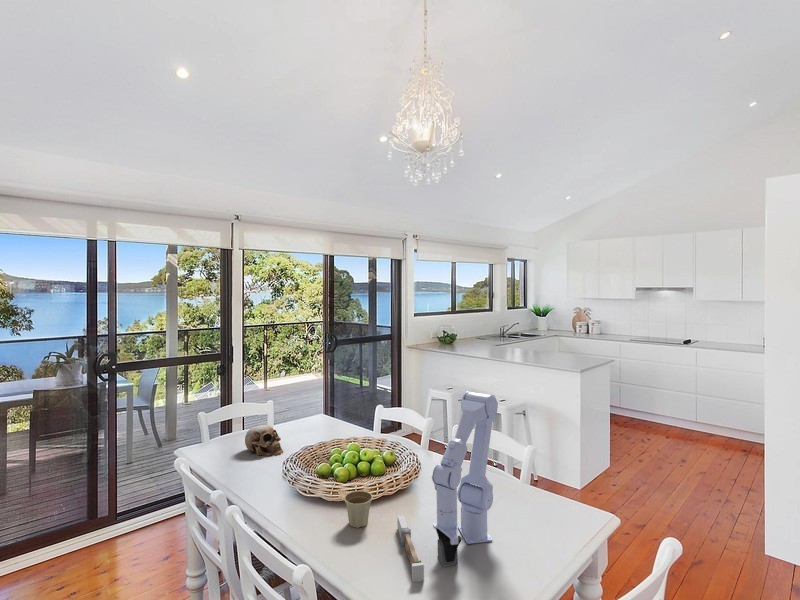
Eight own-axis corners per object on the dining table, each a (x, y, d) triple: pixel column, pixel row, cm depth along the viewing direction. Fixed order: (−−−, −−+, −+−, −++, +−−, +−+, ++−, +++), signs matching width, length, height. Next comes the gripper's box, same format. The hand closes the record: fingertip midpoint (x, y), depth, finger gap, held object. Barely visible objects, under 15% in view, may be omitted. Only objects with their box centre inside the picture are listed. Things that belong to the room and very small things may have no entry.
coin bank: (283, 454, 203) (279, 426, 203) (245, 462, 199) (241, 434, 199) (283, 444, 218) (280, 418, 218) (247, 452, 214) (244, 425, 214)
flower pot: (373, 515, 147) (373, 490, 147) (372, 530, 137) (372, 503, 137) (345, 516, 147) (345, 490, 146) (343, 531, 137) (342, 504, 137)
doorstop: (437, 556, 123) (437, 539, 123) (452, 554, 124) (452, 537, 124) (442, 566, 119) (441, 548, 119) (457, 564, 120) (457, 546, 120)
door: (405, 547, 128) (405, 534, 128) (412, 546, 128) (412, 533, 128) (414, 576, 114) (414, 562, 114) (422, 575, 115) (422, 561, 115)
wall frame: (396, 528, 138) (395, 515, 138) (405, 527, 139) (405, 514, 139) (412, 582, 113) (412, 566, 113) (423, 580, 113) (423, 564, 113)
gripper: (426, 497, 128) (427, 542, 128) (440, 522, 113) (440, 573, 114) (449, 494, 129) (450, 539, 129) (465, 519, 115) (466, 570, 115)
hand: (447, 555), depth 121 cm, fingers closed on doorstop, 4 cm apart
